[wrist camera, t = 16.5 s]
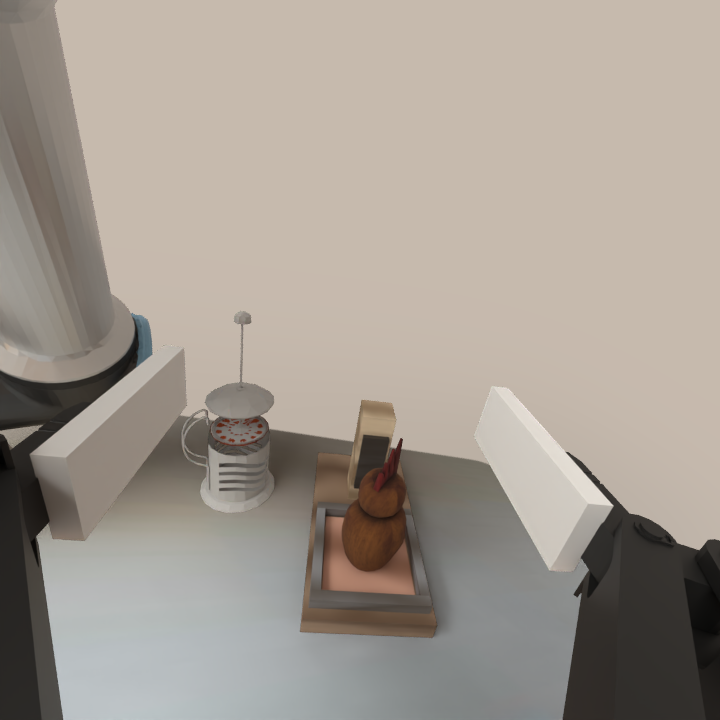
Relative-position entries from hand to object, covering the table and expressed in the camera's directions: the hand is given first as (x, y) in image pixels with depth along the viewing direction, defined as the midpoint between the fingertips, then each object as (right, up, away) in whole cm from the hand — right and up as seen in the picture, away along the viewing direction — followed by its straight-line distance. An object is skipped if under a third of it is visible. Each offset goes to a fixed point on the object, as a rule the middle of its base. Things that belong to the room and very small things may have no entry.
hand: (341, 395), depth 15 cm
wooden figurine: (+2, -21, +24) cm, 32 cm away
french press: (-17, -16, +33) cm, 40 cm away
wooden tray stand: (+1, -20, +30) cm, 36 cm away
